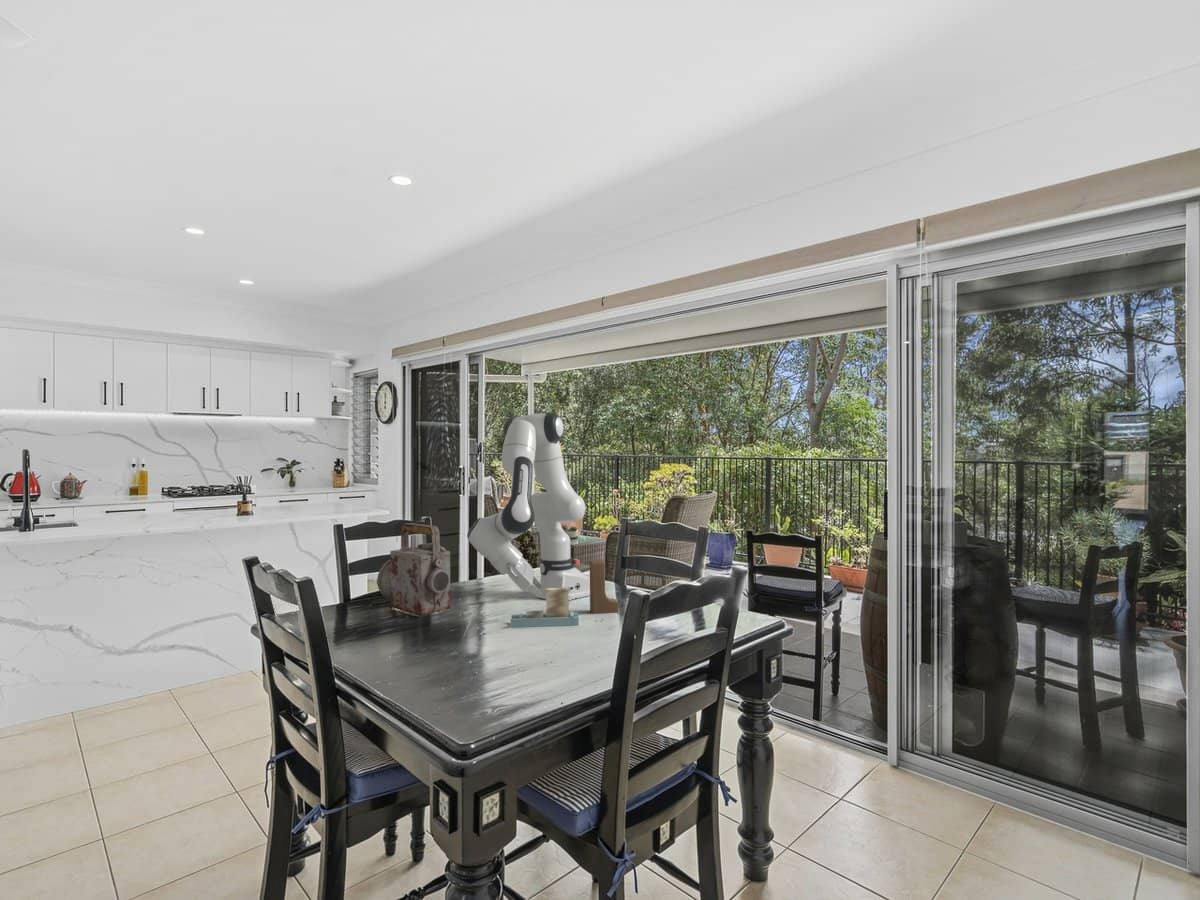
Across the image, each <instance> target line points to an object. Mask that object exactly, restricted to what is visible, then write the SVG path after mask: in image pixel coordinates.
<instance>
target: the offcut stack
mask: <svg viewBox="0 0 1200 900" xmlns="http://www.w3.org/2000/svg"><path fill="white" fill-rule="evenodd" d="M525 614H526V617H524V618H543V614H544V610H526V611H525Z"/></svg>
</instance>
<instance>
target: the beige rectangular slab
mask: <svg viewBox="0 0 1200 900" xmlns="http://www.w3.org/2000/svg"><path fill="white" fill-rule="evenodd" d="M545 602H546V603H545V604H546V605H545V606H546V607H545V608H546V609H545V610H546V613H545V614H546V618H553V617H569V613H570V611H569V610H570V609H569V608H570V603H569V602H570V600H569V589H568V588H546V599H545Z"/></svg>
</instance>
